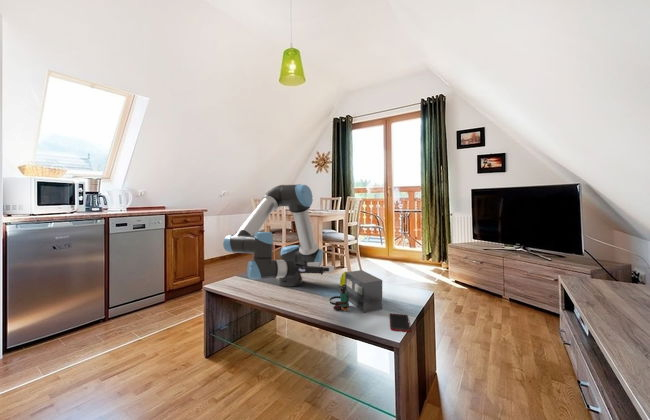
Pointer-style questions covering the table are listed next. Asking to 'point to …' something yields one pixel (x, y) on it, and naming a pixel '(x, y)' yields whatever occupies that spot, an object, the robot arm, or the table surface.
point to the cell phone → (399, 322)
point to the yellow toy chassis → (342, 279)
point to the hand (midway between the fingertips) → (326, 266)
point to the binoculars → (343, 301)
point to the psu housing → (364, 290)
